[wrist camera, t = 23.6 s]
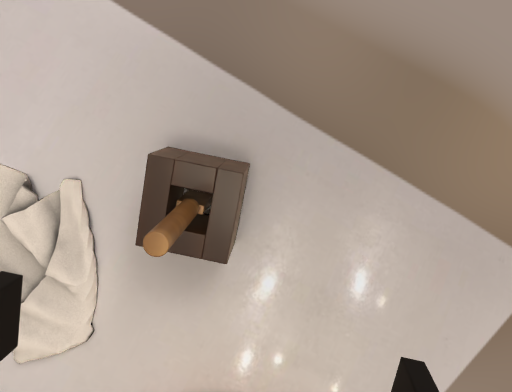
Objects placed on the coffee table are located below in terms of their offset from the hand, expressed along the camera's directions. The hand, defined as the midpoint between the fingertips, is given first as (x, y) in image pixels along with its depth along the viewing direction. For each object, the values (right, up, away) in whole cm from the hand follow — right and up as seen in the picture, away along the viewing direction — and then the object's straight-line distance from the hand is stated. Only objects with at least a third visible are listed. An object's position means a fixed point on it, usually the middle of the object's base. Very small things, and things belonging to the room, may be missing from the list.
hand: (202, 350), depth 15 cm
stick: (-3, +5, +27) cm, 28 cm away
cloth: (-22, -1, +30) cm, 37 cm away
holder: (-3, +5, +27) cm, 28 cm away
